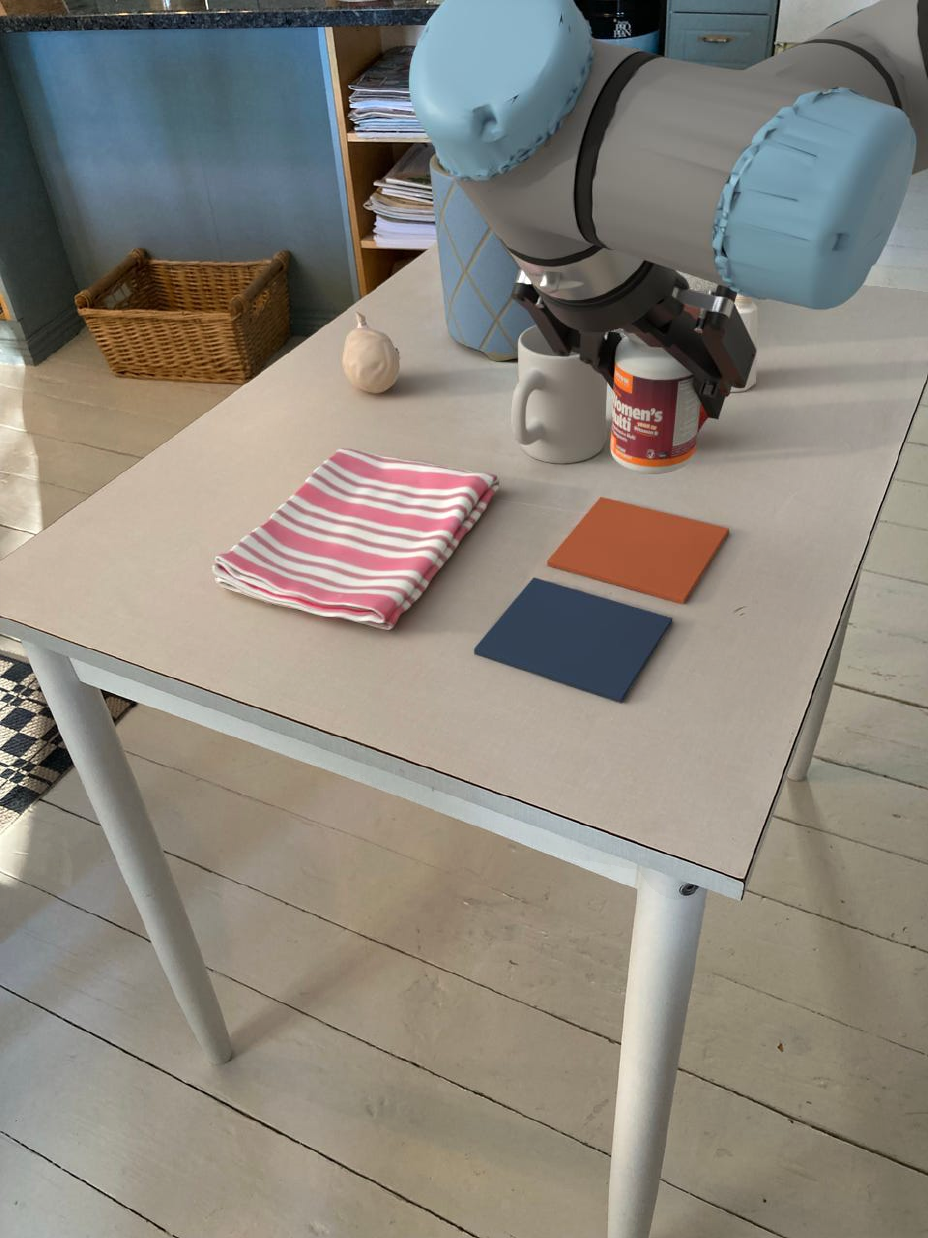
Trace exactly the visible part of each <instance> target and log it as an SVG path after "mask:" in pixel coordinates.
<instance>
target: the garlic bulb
mask: <svg viewBox="0 0 928 1238" xmlns="http://www.w3.org/2000/svg"><path fill="white" fill-rule="evenodd" d="M354 315H355V319H356V321H357V326H356V327H355V328H353V329H352V330H351V331H350V332H349V333H348V334H347V336H346V338H345V341H344V348H343V353H342V358H341V364H342V368H343V371H344V373H345V375H346V377H347V379H348V381H349V382H350V383H351V384H352V385H353V386H354V387H355V388H357V389H359V390H362V391H365V392H368V393H370V394H371V393H372V394H381V393H383V392H386V391H388V390H389V389H390V388H391V387H392V386H393V385H394V384H395V383H396V382H397V380H398V378H399V375H400V370H401V369H400V361H401V356H400V351H399V349H398V347H395V346H394V343H393V341H392V340H391V338H390V336H389V335H388V334H386V333H385V332H382V331H380V330H377V329H373V328H370V327H369V324H367V322H366V316H365V315H363V314H361V313H360V312H359V311H357V310H354Z"/></svg>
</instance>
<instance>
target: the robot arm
mask: <svg viewBox="0 0 928 1238" xmlns="http://www.w3.org/2000/svg"><path fill="white" fill-rule="evenodd" d="M592 34H593V31H592V27H591V26H590V21H589V20H588V19H585V16H584V14H583V12H582V11H580V9H579V7H578V6H577V5H576V2H575V1H574V0H444V1H443V2H442V3H440V5H439V6H438V7H437V8H436V10H435V11H434V12H433V13H432V15H431V16H430V18H429V19H428V20H427V23H426V24H425V26H424V29H423V32H422V34H421V35H420V36H419V38H418V39H417V42H416V43H417V44H416V46H415V47H414V51H413V53H412V56H411V60H410V64H409V71H408V73H409V74H408V92H409V98H410V102H411V106H412V109H413V112H414V114H415V118H416V120H417V121H418V123H419V125H420V126H421V128H422V129H423V131H424V132H425V134H426V135H427V137H428V139H429V141H430V142H431V143H432V146H433V148H434V149H435V154H436V155H437V158H438V159H439V160H440V164H441V165H442V166H443V168H444V169H445V171H446V172H447V173H449V174H450V175H451V176H452V177H453V178H454V179H455V181H456V182H457V183H458V185H459V186H460V187H461V189H462V190H463V191H464V193H465V194H466V195H467V197H468V198H469V199H470V201H471V202H472V203H473V205H474V206H475V207H476V209H477V210H478V211H479V213H480V214H481V215H482V217H483V218H484V219H485V221H486V222H487V223H488V225H489V226H490V227H491V228H492V230H493V231H494V232H495V234H496V235H497V236H498V237H499V238H500V239H501V241H502V242H503V243H504V245H505V246H506V248H507V249H508V250H509V252H510V253H511V255H512V256H513V258H514V259H515V260H516V262H517V263H518V265H519V266H520V268H519V272H518V275H517V278H516V281H515V284H514V287H513V290H512V293H511V297H512V299H514V300H515V301H516V302H517V303H519V304H520V305H521V306H522V307H524V308H525V309H526V310H527V311H528V312H529V314H530V315H531V317H532V319H533V320H534V322H535V323H536V325H537V327H538V328H539V330H540V331H541V333H542V334H543V336H544V338H545V339H546V341H547V342H548V344H549V346H550V347H551V349H552V350H553V352H554V353H556V354H557V355H558V356H561V357H569V356H570V353H571V352H575V353H578V354H580V356H579V359H580V360H581V361H582V362H584V363H585V364H590V365H591V366H592V367H593V369H594V371H596V372H597V373H599V374H602V376H603V377H604V379H605V380H606V381H607V385H608V386H609V387H610V389H611V390H612V391H613V385H614V369H615V353H616V348H617V346H618V344H619V343H620V341H621V340H622V339H623V337H622V335H621V333H620V332H616V331H617V330H620V329H622V330H623V331H624V330H625V331H626V332H627V333H634V334H635V335H636V336H638V337H639V338H640V339H641V340H642V341H643V342H645V343H646V344H647V345H648V346H649V347H657V348H663V349H664V350H665V351H667V352H668V353H669V354H670V355H671V356H672V357H673V358H675V359H676V360H677V361H678V362H679V363H680V364H682V365H683V366H684V367H685V368H686V369H687V370H688V371H690V372H691V373H692V374H693V375H694V376H695V379H694V382H693V385H692V386H693V388H694V390H695V392H696V394H697V396H698V398H699V400H700V402H701V404H702V406H703V408H704V410H705V412H706V414H707V416H708V419H714V420H719V418H720V416H721V413H722V409H723V406H724V403H725V400H726V398H728V397H729V396H730V395H731V394H730V393H731V392H730V391H731V388H732V387H734V388H744V387H745V386H746V383H747V380H748V377H749V374H750V371H751V368H752V365H753V361H754V358H755V355H756V352H757V353H758V349H757V350H756V348H755V346H754V343H753V341H752V339H751V337H750V335H749V333H748V331H747V329H746V327H745V325H744V322H743V320H742V318H741V316H740V314H739V312H738V310H737V308H736V306H735V299H736V296H737V293H738V294H740V295H742V296H745V297H752V298H753V299H756V300H761V301H762V300H771V301H775V302H780V303H785V304H789V305H792V306H798V307H802V308H807V309H811V310H819V311H827V310H830V309H834V308H836V307H840V306H841V305H843V304H845V303H846V302H847V301H849V300H850V299H851V298H852V297H854V295H855V294H857V292H858V291H859V290H860V289H861V288H862V286H863V285H864V284H865V282H866V280H867V279H868V275H869V273H870V271H871V269H872V267H873V266H875V265H877V262H878V261H879V259H880V257H881V255H882V253H883V251H884V249H885V248H886V245H887V243H888V241H889V239H890V236H891V234H892V232H893V229H894V227H895V225H896V222H897V219H898V217H899V215H900V211H901V209H902V206H903V204H904V201H905V198H906V194H907V192H908V188H909V185H910V182H911V178H912V176H913V175H916V174H918V173H920V172H923V171H926V170H927V169H928V0H878V1H876V2H875V3H873V4H871V5H869V6H865V7H863V8H861V9H859V10H857V11H854V12H853V13H851V14H849V15H847V16H844V17H843V18H842V19H840V20H838V21H836V22H833V23H832V24H830V25H829V26H827V27H826V28H824V29H823V30H821V31H820V32H817V33H816V34H814V35H812V36H811V37H808V38H807V39H805V40H802V41H801V42H800V43H797V44H794V45H793V46H790V47H788V48H786V49H784V50H782V51H780V52H779V53H777V54H775V55H773V56H771V57H769V58H766V59H764V60H762V61H760V62H758V63H756V64H754V65H752V66H749V67H747V68H746V69H741V70H740V69H739V70H738V69H731V68H724V67H719V66H714V65H708V64H701V63H696V62H691V61H686V60H679V59H674V58H669V57H667V56H664V55H661V54H657V53H652V52H649V51H646V50H642V49H638V48H633V47H629V46H623V45H619V44H613V43H609V42H603V41H601V40H597V39H596V38H594V37H593V36H592ZM681 273H683V274H686V275H689V276H692V277H695V278H697V279H698V278H699V279H701V280H704V281H707V282H710V283H713V284H716V288H715V290H712V289H708V290H706V291H705V292H702V291H698V290H695V289H691V288H690V282H689V281H688V280H687V278H686V277H684V276H683V275H682V274H681ZM605 334H607V339H605Z"/></svg>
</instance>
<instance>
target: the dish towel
mask: <svg viewBox="0 0 928 1238" xmlns="http://www.w3.org/2000/svg"><path fill="white" fill-rule="evenodd" d="M499 488H500V477H499V476H498V475H497V474H495V473H491V472H478V471H472V470H467V469H462V468H456V467H450V466H447V465H439V464H432V463H429V462H424V461H423V462H422V461H414V460H407V459H403V458H402V459H401V458H398V457H390V456H389V457H388V456H383V455H381V454H375V453H372V452H368V451H365V450H361V449H356V448H350V447H349V448H348V447H347V448H346V447H343V448H339V449H336V451H335V453H334V454H333V455H332V456H330V457H328V459H325V460H324V461H323V462H322V463H321V464H320V465H319V466H317V467H316V468H314V471H312V474H310V475H309V476H308V478H306V479H305V481H304V483H303V485H302V486H300V488H298V490H297V491H295V493H293V494H292V495H290V497H289V498H288V499H287V500H286V501H285V502H284V503H283V504H280V505H279V506H278V508H277V509H276V511H275V512H272V514H270V515H269V518H268V520H267V521H266V522H265V523H264V524H262V525H259V526H256V527H255V528H254V529H253V530H251V531H250V533H248V534H247V535H245V536H243V537H242V538H241V539H240V540H239V542H238V543H237V544H234V545H233V546H232V547H231V549H229V550H228V552H226V553H220V554H217V555H216V556H215V558H214V561H215V562H216V563H215V564H213V565H212V566H211V570H212V573H213V574H214V575H216V577H215V578H214V581H215V583H216V584H217V585H219V586H220V587H222V588H223V589H226V590H228V591H229V590H230V591H232V592H235V593H239V594H242V595H244V596H246V597H250V598H252V599H254V600H255V599H256V600H258V601H261V602H264V603H268V604H273V605H276V606H280V607H284V608H289V609H293V610H298V611H302V612H305V613H310V614H312V615H316V616H321V617H327V618H338V619H343V620H347V621H352V622H355V623H359V624H363V625H366V626H370V627H373V628H377V629H381V630H385V631H389V630H391V629H393V628H394V627H395V626H396V624H397V623H398V620H399V618H400V616H401V615H402V614H403V613H405V612H406V611H407V610H408V609H410V608H411V606H412V604H413V603H415V602H416V601H418V599H419V598H420V597H421V596H422V595H423V593H424V592H425V591H426V589H427V587H428V586H429V584H430V582H431V581H432V579H433V577H434V576H435V575H436V573H437V572H438V571H439V570H440V569H442V567H443V566H444V564H445V563H446V562H447V561H448V560H449V559H450V557H451V556H452V555H453V553H454V551H455V550H456V549H457V548H458V547H459V545H460V542H461V541H462V539H463V538H464V536H465V535H466V533H468V532H469V531H470V530H471V529H472V528H473V527H474V525H475V524H476V523H477V522H478V521H479V520H480V518H481V516H482V514H483V513H484V512H485V510H486V509H487V508H488V507H487V506H488V504H489V502H490V501H491V498H492V497H493V495H494V494H496V492H498V490H499Z"/></svg>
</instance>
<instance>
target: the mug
mask: <svg viewBox="0 0 928 1238" xmlns="http://www.w3.org/2000/svg"><path fill="white" fill-rule="evenodd" d="M607 336H608V333H606V334H605V339H607ZM579 356H580V354H578V353H575V352H571V353H570V356H569V357H561V356H558V355H557V354H556V353H554V352H553V350H552V349H551V347H550V346H549V344H548V342H547V341H546V339H545V338H544V336H543V334H542V333H541V331H540V330H539V328H538V327H537V325H535V326H532V327H530V328H528V329H527V330H525V331H524V332H523V333H522V334H521V335H520V337H519V340H518V358H517V364H518V365H517V367H518V368H517V369H518V370H517V371H518V383H517V384H516V386H515V388H514V391H513V394H512V398H511V399H512V400H511V407H510V408H511V410H510V418H511V428H512V429H511V430H512V432H513V433H512V434H513V437H514V439H515V440H516V441H517V443H518V444H520V447H521V449H522V450H523V452H524V453H525V454H526V455H527V456H529V457H530V458H532V459H535V460H537V461H540V462H545V463H548V464H549V463H550V464H561V465H562V464H575V463H579V462H582V461H586V460H589V459H591V458H593V457H594V456H596V455H598V454H599V453H600V452H601V451H602V449H604V446H605V444H606V438H607V437H606V435H607V400H608V399H607V395H608V383H607V381H606V380H605V379H604V377H603V376H602V374H599V373H597V372H596V371H594V369H593V367H592V366H591V365H590V364H585V363H584V362H582V361H581V360H580V359H579Z"/></svg>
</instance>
